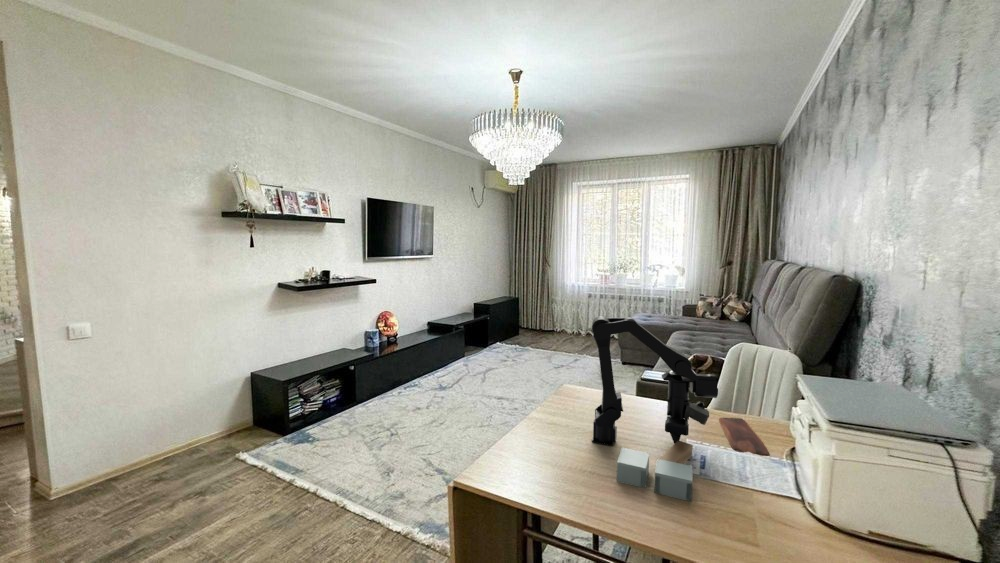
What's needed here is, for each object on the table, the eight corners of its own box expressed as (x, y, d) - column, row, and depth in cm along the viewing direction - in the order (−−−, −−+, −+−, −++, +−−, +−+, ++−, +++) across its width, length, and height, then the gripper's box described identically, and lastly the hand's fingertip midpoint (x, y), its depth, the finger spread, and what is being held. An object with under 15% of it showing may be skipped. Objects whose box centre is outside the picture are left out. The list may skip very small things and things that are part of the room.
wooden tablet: (716, 413, 145) (747, 413, 142) (716, 419, 145) (747, 420, 142) (732, 448, 120) (771, 450, 117) (733, 455, 120) (771, 457, 117)
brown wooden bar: (656, 473, 109) (657, 460, 109) (678, 451, 121) (678, 440, 120) (671, 478, 106) (672, 466, 106) (691, 456, 118) (692, 444, 118)
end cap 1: (645, 488, 102) (646, 468, 101) (616, 481, 105) (617, 461, 104) (648, 471, 109) (649, 453, 109) (621, 465, 112) (622, 447, 112)
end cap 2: (654, 492, 100) (655, 472, 99) (656, 477, 106) (657, 458, 106) (691, 501, 96) (692, 480, 96) (691, 485, 103) (692, 466, 102)
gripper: (709, 410, 109) (707, 465, 110) (706, 388, 126) (704, 436, 127) (665, 403, 114) (663, 456, 115) (668, 383, 131) (666, 429, 132)
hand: (676, 444), depth 122 cm, fingers closed
